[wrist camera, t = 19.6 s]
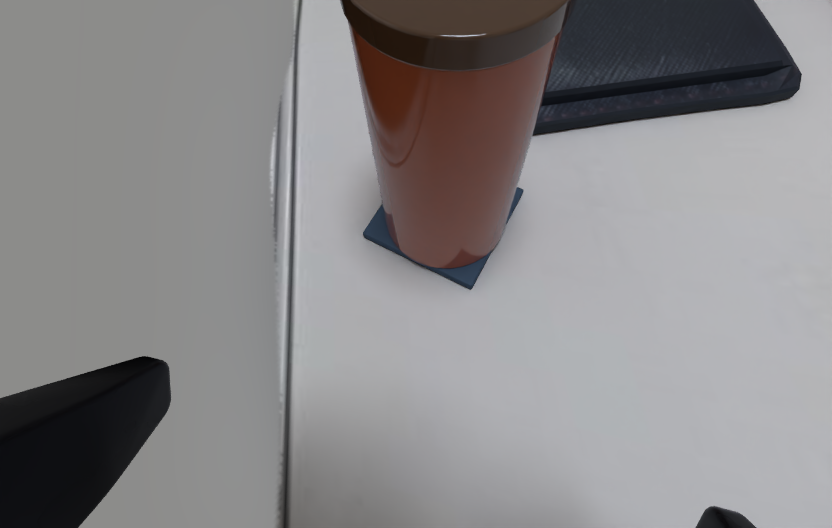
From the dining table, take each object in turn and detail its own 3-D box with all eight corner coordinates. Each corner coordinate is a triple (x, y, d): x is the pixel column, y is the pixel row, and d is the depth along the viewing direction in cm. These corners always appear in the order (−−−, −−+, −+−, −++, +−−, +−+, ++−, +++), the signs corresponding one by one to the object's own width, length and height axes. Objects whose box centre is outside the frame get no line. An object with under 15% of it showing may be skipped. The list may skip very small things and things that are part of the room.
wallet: (450, 122, 24) (417, -63, 30) (449, 145, 25) (418, -34, 32) (833, 80, 24) (722, -95, 30) (806, 106, 26) (706, -64, 32)
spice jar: (534, 224, 23) (644, -42, 11) (433, 295, 21) (434, 80, 10) (456, 143, 25) (477, -153, 13) (359, 204, 24) (286, -66, 12)
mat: (471, 290, 22) (471, 286, 22) (363, 237, 23) (362, 233, 23) (522, 194, 24) (523, 189, 24) (420, 151, 25) (420, 145, 25)
